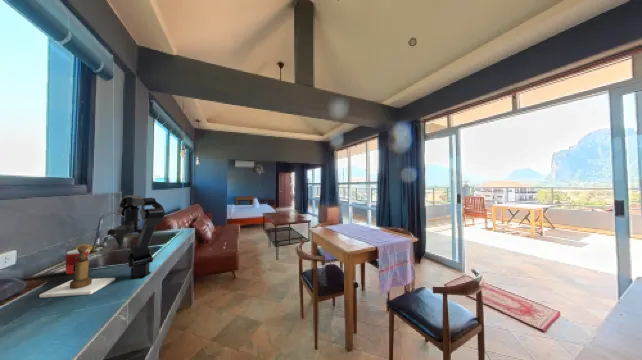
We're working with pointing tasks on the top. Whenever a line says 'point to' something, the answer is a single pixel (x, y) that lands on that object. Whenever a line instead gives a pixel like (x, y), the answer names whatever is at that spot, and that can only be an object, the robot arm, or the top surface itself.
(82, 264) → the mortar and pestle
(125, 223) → the robot arm
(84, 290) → the tile
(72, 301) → the top surface
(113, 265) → the top surface
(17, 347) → the top surface
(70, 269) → the canned food
